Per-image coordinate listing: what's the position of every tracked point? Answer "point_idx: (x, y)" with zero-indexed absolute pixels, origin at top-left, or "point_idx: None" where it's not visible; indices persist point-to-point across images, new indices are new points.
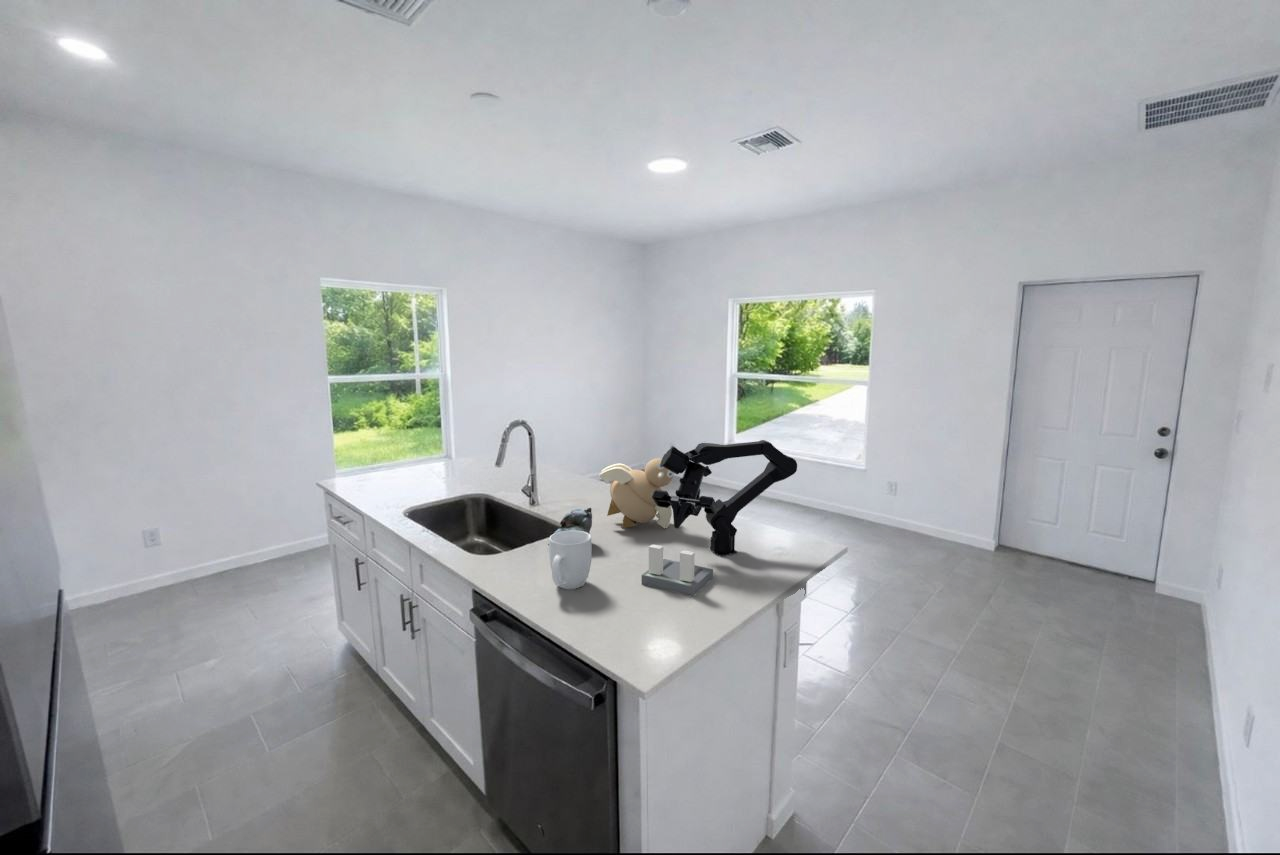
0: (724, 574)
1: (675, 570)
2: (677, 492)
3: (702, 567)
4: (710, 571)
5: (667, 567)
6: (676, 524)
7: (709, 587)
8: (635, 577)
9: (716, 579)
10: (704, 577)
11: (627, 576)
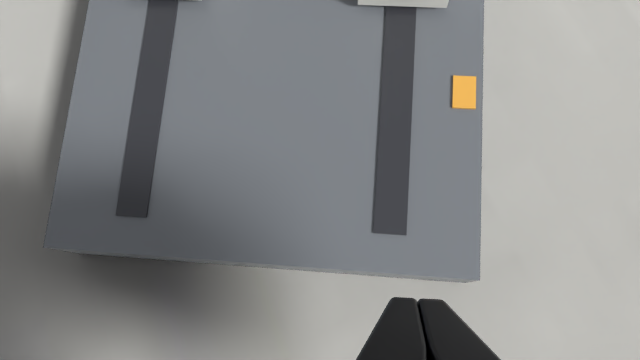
0: (17, 350)
1: (299, 101)
2: None
3: (127, 243)
4: (54, 196)
5: (375, 125)
6: (407, 318)
7: None
8: (558, 38)
9: None
10: (74, 85)
11: (615, 29)
